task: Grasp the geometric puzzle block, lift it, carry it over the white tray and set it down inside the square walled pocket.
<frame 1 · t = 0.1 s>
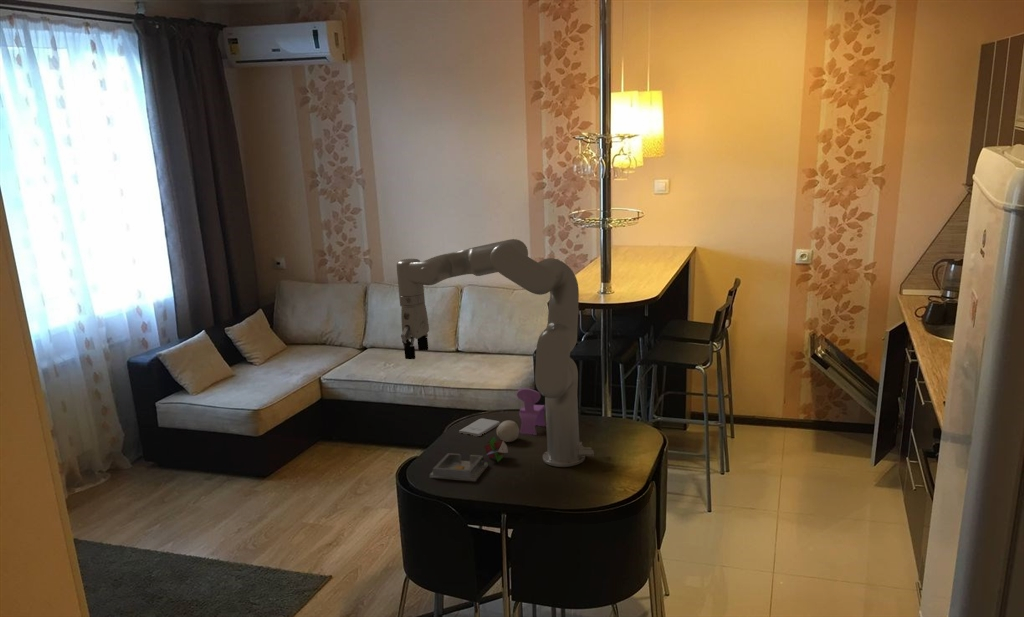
hand: (417, 354, 240), 31 cm above the table, fingers open, 9 cm apart
geometric puzzle: (496, 459, 236), on the table
external hard drive: (479, 430, 262), on the table
toy chair: (532, 430, 258), on the table
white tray: (459, 471, 229), on the table
baseball: (508, 441, 250), on the table
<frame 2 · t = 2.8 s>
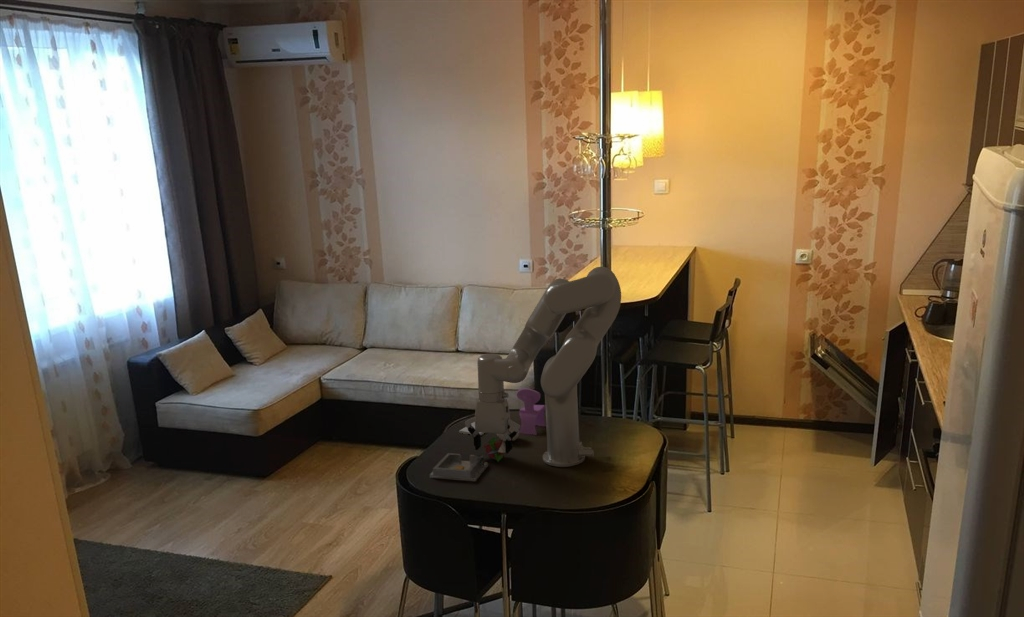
hand: (493, 449, 235), 3 cm above the table, fingers open, 9 cm apart
geometric puzzle: (496, 459, 236), on the table, touching gripper
everything else where it was.
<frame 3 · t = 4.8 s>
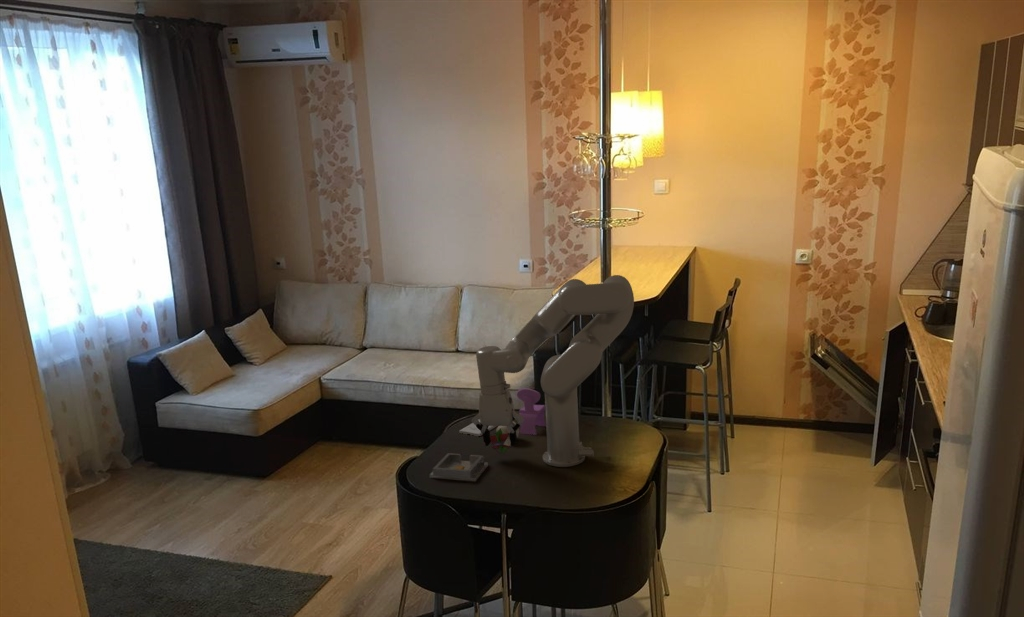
hand: (500, 443, 235), 5 cm above the table, fingers closed on geometric puzzle, 7 cm apart
geometric puzzle: (500, 451, 235), point 2 cm above the table, touching gripper
everything else where it was.
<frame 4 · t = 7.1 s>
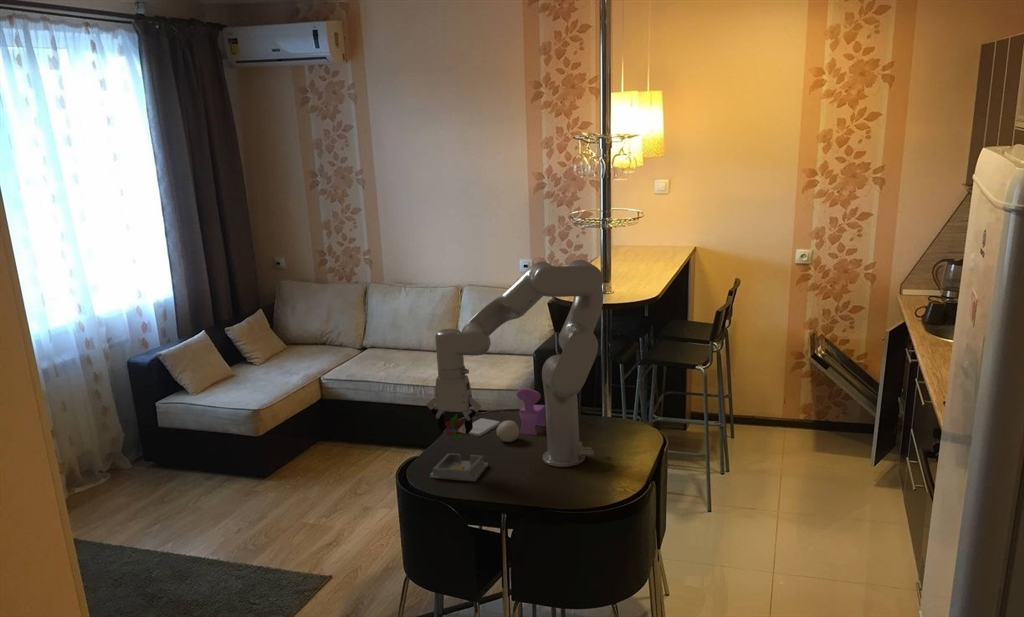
hand: (455, 430, 226), 13 cm above the table, fingers closed on geometric puzzle, 7 cm apart
geometric puzzle: (454, 438, 227), point 10 cm above the table, touching gripper
everything else where it was.
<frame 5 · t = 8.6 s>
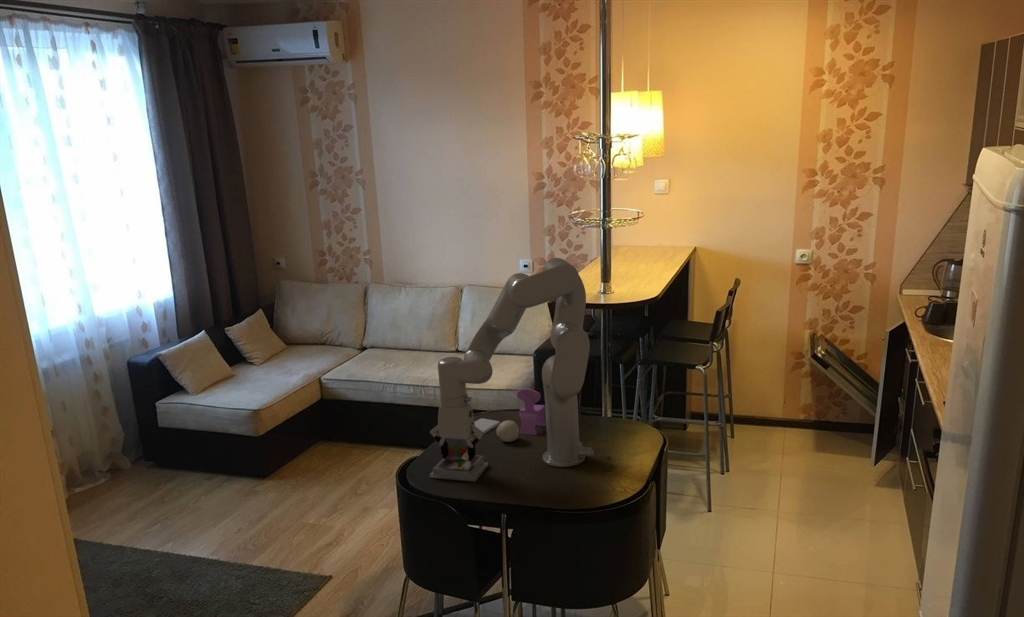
hand: (458, 457, 228), 4 cm above the table, fingers closed on geometric puzzle, 7 cm apart
geometric puzzle: (458, 465, 228), point 2 cm above the table, touching gripper
everything else where it was.
when the fingers open (4 cm above the table, at t = 9.4 s): geometric puzzle stays where it is, resting on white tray.
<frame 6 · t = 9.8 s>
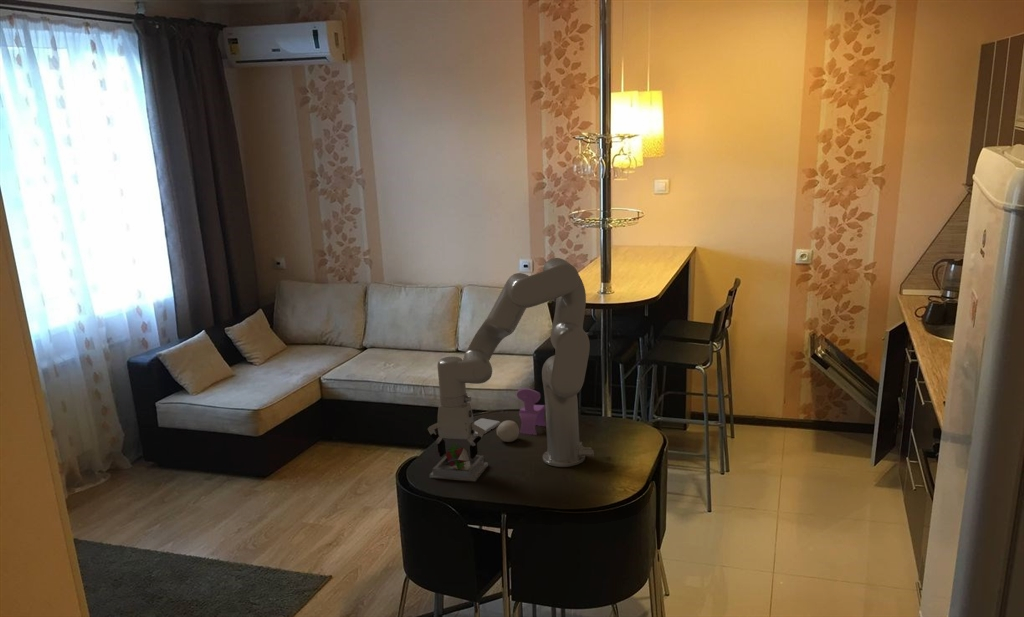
hand: (458, 455, 228), 5 cm above the table, fingers open, 9 cm apart
geometric puzzle: (457, 467, 229), point 1 cm above the table, touching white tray
everything else where it was.
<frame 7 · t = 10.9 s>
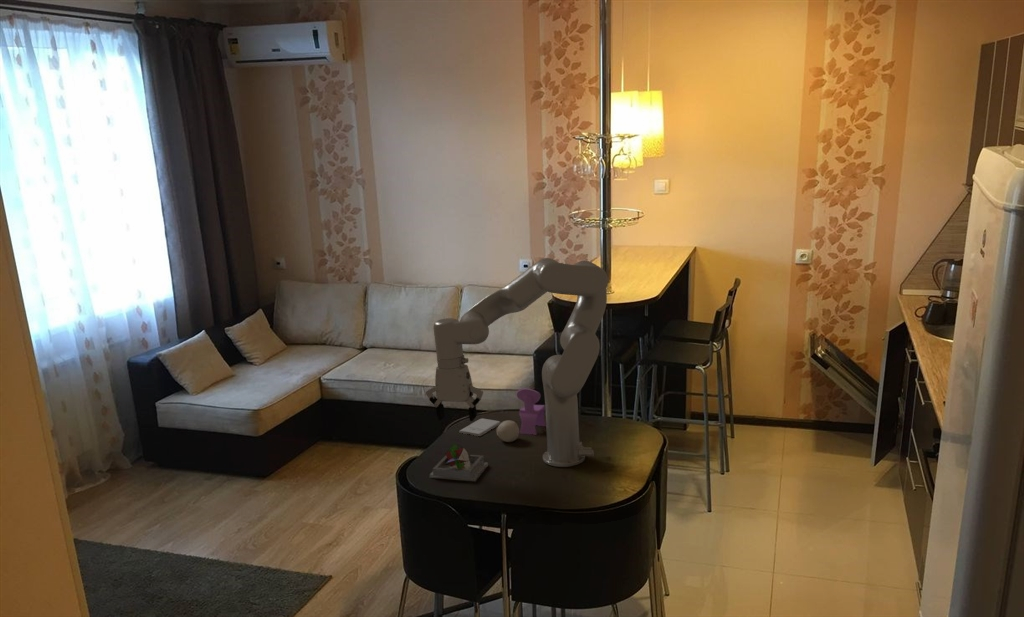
hand: (457, 419, 225), 16 cm above the table, fingers open, 9 cm apart
nothing on the table moved.
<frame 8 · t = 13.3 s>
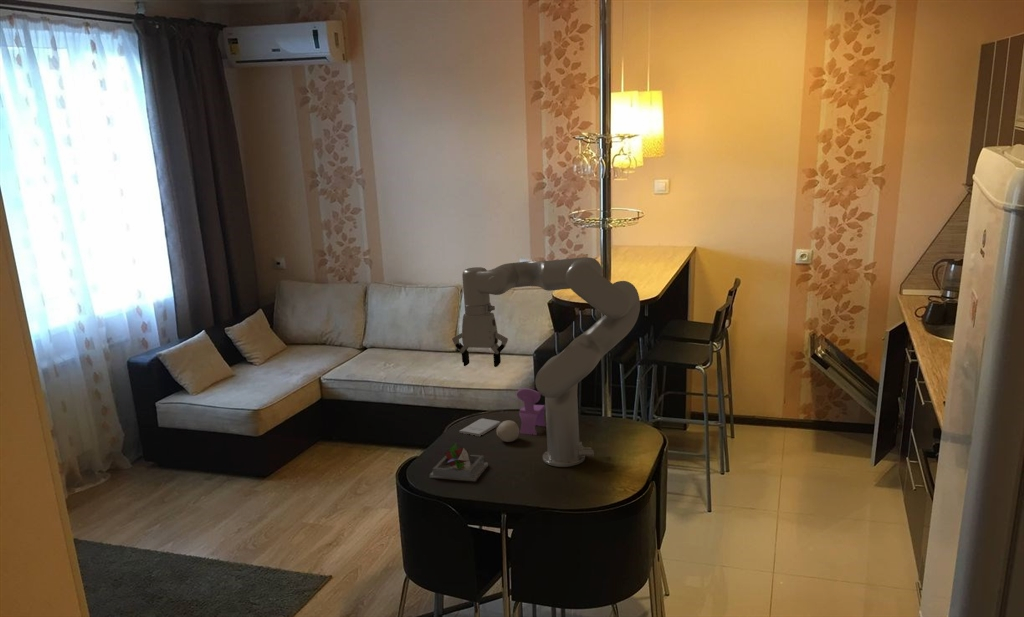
hand: (481, 365, 234), 28 cm above the table, fingers open, 9 cm apart
nothing on the table moved.
at the end: geometric puzzle 0.4 cm off-centre on the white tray, point 1.1 cm above the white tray's base; geometric puzzle point 1.1 cm above the table; the gripper is holding nothing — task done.
